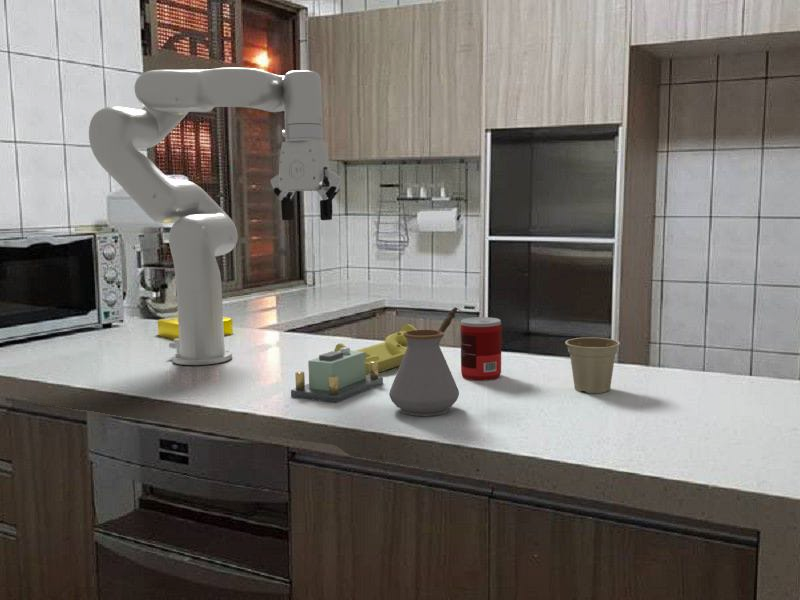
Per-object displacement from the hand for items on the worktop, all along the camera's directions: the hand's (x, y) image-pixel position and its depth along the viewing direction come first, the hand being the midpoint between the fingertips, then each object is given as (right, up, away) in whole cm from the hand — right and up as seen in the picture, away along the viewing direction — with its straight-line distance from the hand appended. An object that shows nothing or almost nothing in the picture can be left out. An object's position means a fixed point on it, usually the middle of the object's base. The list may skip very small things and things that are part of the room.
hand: (306, 219), depth 161 cm
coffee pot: (+25, -34, -27) cm, 50 cm away
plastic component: (+15, -30, +3) cm, 34 cm away
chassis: (+8, -33, -17) cm, 38 cm away
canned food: (+35, -31, -9) cm, 48 cm away
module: (+8, -32, -17) cm, 37 cm away
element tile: (-34, -26, +45) cm, 62 cm away
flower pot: (+53, -33, -21) cm, 66 cm away
